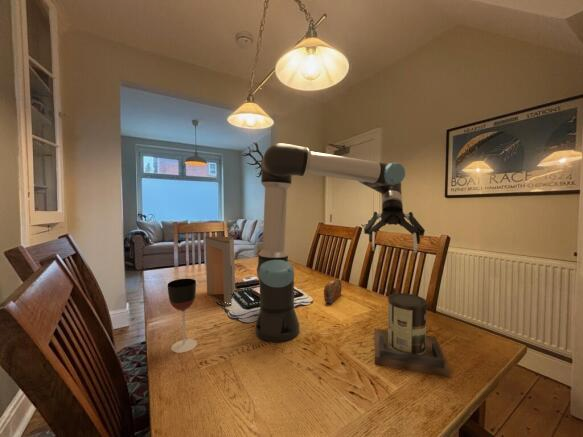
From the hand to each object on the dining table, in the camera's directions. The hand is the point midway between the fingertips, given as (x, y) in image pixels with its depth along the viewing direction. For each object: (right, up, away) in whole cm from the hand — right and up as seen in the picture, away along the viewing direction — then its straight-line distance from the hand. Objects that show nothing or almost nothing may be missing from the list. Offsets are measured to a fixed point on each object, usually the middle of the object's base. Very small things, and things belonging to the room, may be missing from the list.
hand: (394, 249), depth 88 cm
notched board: (-1, -29, -13) cm, 31 cm away
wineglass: (-69, -29, -8) cm, 75 cm away
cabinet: (-66, -26, +32) cm, 78 cm away
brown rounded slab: (-17, -26, +28) cm, 42 cm away
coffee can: (-2, -27, -13) cm, 30 cm away
